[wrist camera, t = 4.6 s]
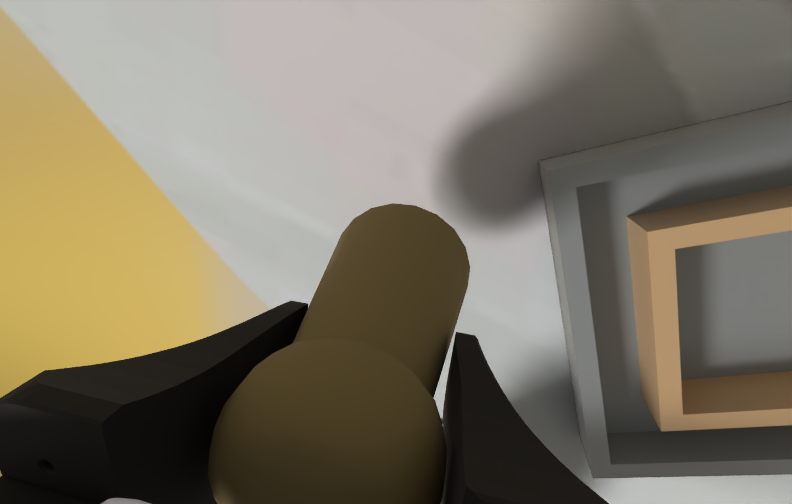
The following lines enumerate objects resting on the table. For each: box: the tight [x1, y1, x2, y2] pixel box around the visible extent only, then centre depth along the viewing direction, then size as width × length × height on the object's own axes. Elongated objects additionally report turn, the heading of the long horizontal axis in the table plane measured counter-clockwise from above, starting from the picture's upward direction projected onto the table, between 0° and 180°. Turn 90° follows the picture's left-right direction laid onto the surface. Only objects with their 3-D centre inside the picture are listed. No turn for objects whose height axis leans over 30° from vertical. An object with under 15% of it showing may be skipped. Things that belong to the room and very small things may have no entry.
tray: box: [538, 102, 792, 478], centre depth 18 cm, size 18×18×3 cm
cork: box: [208, 204, 470, 504], centre depth 12 cm, size 6×6×11 cm
